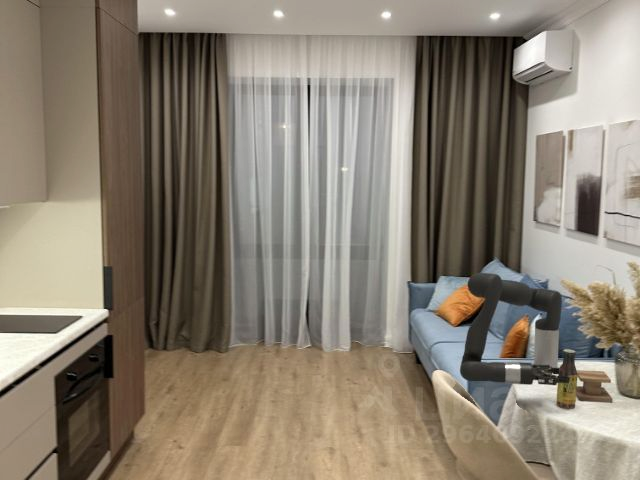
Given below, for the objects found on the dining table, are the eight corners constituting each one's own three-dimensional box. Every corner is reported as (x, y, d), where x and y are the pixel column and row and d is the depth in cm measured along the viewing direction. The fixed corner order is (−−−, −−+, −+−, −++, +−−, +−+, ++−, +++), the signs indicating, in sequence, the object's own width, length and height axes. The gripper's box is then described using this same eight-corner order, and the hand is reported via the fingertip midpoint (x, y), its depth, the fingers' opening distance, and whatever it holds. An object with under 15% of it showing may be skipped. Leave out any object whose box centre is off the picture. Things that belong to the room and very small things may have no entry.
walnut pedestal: (572, 389, 225) (573, 369, 224) (603, 391, 223) (604, 370, 222) (579, 400, 214) (580, 379, 213) (612, 402, 212) (613, 380, 211)
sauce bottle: (563, 410, 206) (565, 354, 204) (552, 403, 212) (554, 348, 210) (580, 408, 208) (582, 352, 205) (569, 401, 214) (571, 347, 211)
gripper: (521, 369, 204) (571, 371, 201) (515, 356, 218) (562, 358, 215) (520, 390, 205) (570, 393, 202) (515, 376, 219) (562, 378, 216)
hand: (566, 375), depth 209 cm, fingers open, 8 cm apart
